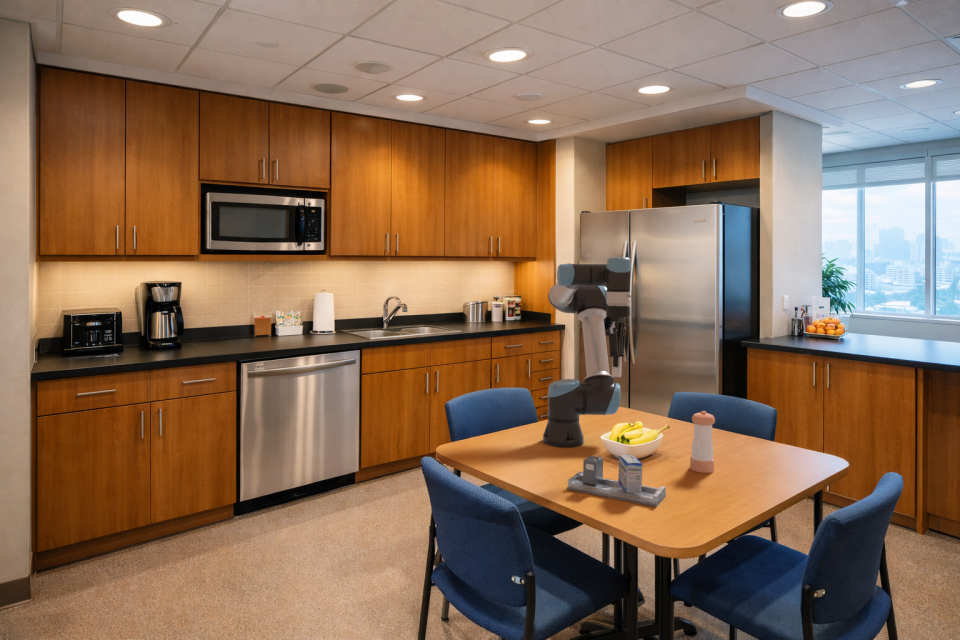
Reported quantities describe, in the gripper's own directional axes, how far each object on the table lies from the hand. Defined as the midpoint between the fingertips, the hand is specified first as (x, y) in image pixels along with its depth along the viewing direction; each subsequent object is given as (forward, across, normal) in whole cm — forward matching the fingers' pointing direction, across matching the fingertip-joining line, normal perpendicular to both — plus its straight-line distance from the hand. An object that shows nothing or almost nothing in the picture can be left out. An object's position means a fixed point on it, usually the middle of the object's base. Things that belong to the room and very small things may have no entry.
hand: (616, 376), depth 202 cm
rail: (+29, -26, -9) cm, 40 cm away
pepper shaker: (+30, +9, -26) cm, 40 cm away
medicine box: (+28, -26, -13) cm, 40 cm away
